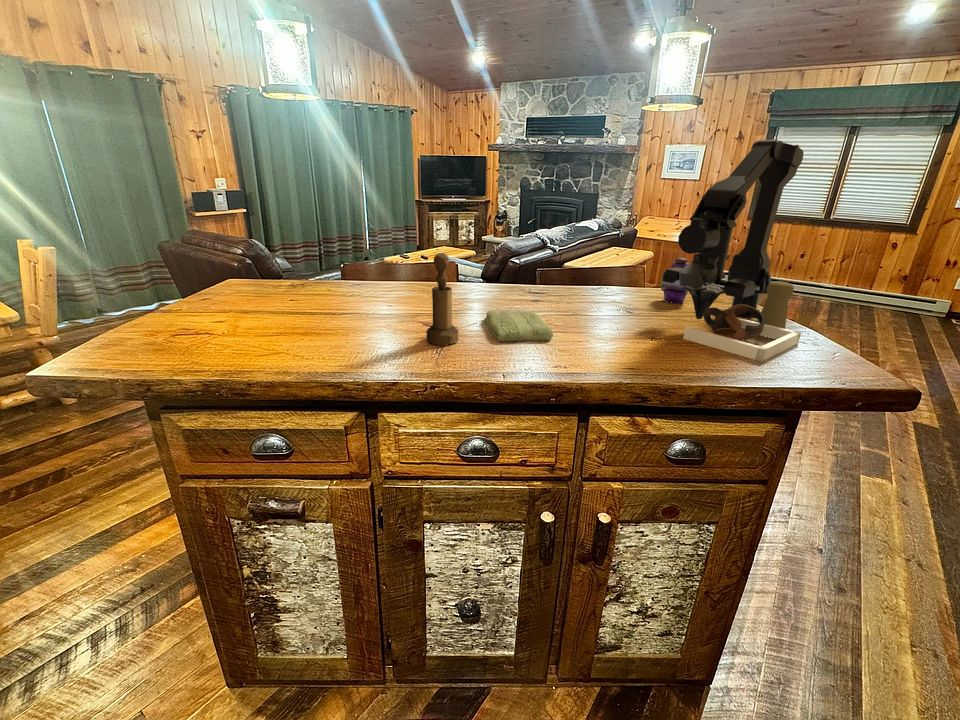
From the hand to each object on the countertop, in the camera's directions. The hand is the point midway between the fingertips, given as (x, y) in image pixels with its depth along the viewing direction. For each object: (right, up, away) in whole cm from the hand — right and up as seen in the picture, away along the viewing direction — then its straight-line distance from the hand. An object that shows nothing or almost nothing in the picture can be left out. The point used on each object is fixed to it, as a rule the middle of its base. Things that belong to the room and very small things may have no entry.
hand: (698, 318), depth 107 cm
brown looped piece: (+5, -4, -3) cm, 7 cm away
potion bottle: (+4, +7, +25) cm, 26 cm away
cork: (+18, -2, +3) cm, 18 cm away
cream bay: (+6, -5, -6) cm, 10 cm away
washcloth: (-42, -3, -1) cm, 42 cm away
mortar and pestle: (-58, -6, -9) cm, 59 cm away
